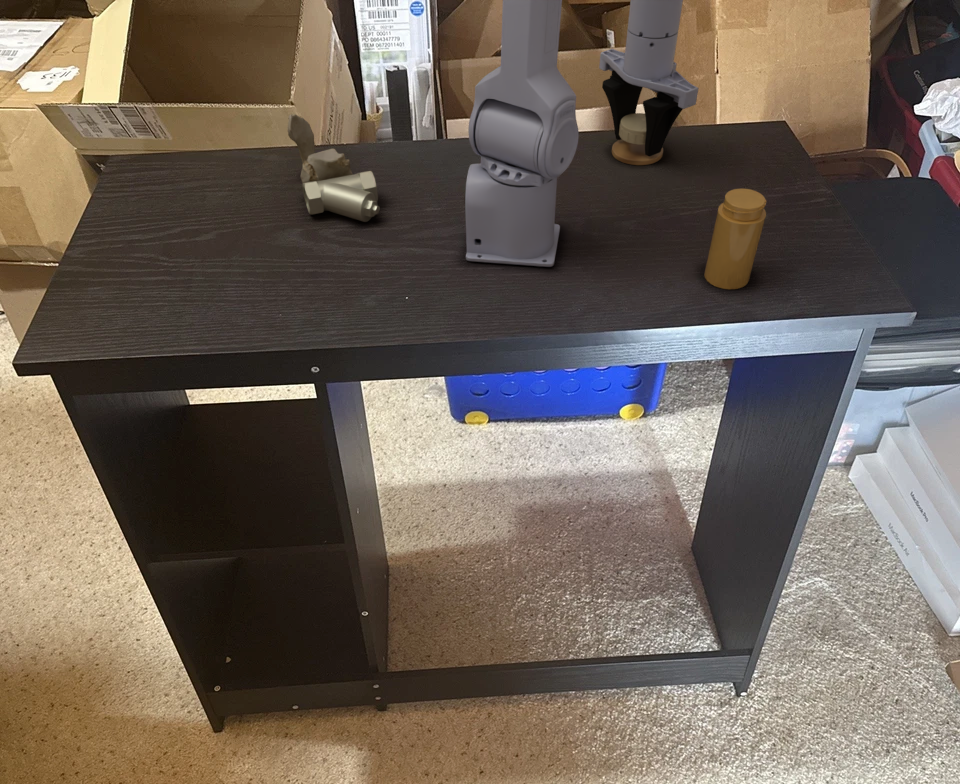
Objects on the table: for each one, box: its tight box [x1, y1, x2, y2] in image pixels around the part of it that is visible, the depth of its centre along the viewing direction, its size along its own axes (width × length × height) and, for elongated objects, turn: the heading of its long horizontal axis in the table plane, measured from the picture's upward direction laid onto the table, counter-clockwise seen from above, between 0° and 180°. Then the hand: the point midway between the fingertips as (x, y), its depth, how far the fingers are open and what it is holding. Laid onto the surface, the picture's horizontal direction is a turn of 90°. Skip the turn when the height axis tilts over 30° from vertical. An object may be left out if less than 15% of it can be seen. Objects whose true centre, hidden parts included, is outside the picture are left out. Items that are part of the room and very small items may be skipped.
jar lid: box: [619, 112, 646, 145], centre depth 103 cm, size 5×5×2 cm
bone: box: [287, 113, 354, 183], centre depth 98 cm, size 9×6×10 cm
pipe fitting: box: [301, 170, 381, 223], centre depth 95 cm, size 8×4×7 cm
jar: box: [703, 188, 767, 290], centre depth 84 cm, size 5×5×9 cm
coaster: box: [611, 139, 664, 166], centre depth 105 cm, size 6×6×1 cm
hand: (638, 145), depth 104 cm, fingers closed on jar lid, 5 cm apart
